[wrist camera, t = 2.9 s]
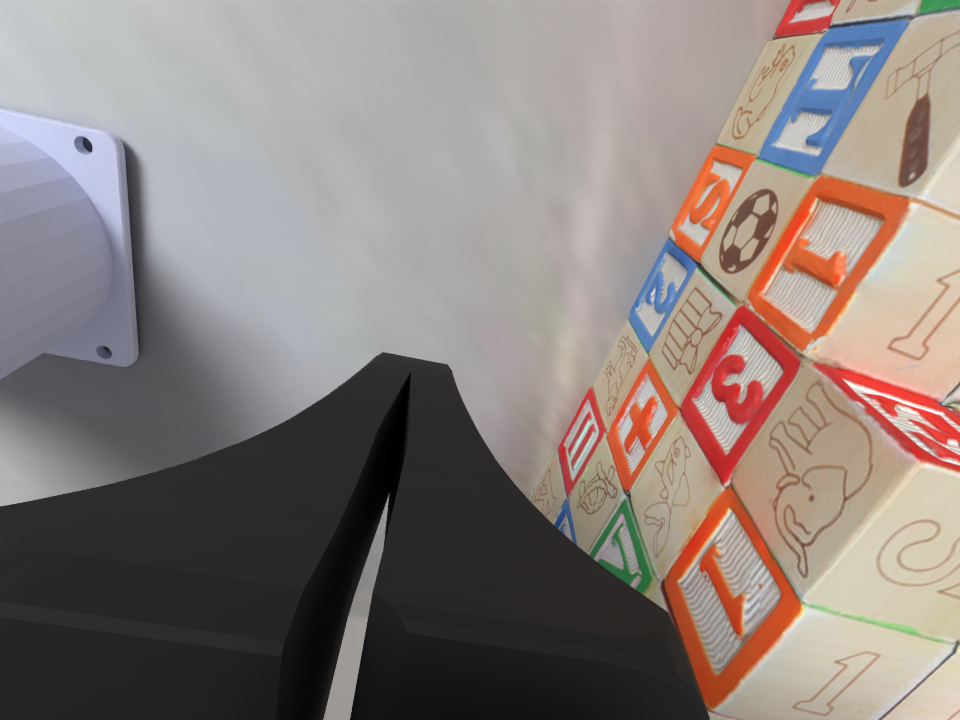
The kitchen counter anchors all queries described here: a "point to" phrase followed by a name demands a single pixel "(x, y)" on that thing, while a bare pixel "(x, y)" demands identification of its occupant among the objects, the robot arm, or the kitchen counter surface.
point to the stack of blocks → (799, 385)
